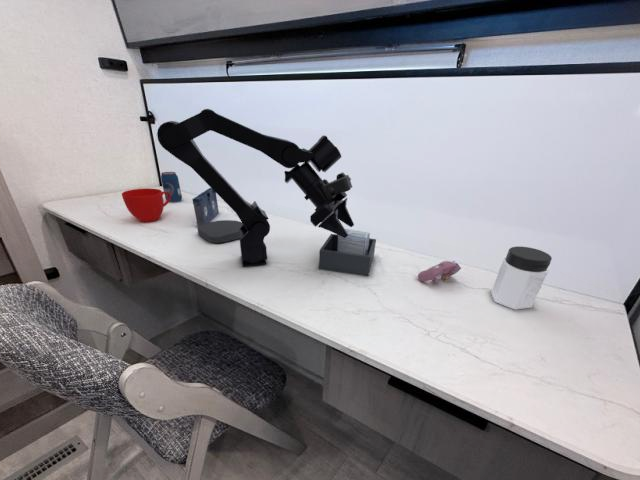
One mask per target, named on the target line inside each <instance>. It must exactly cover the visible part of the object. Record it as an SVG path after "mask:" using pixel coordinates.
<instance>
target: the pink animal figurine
mask: <svg viewBox="0 0 640 480" xmlns="http://www.w3.org/2000/svg"><path fill="white" fill-rule="evenodd" d="M461 269H462V267H461V266H460V264H459V263H458V262H456V261H455V260H453V261H449V260H444V261H441V262H439V263H438V264H435V265H433V266H430V267H429V268H428V269H426V270H422V271H420V272H419V273H418V274H417V279H418V280H419V281H420V282H429V281H431V282H432V284H435V283H437V282H439V281H440V280H441V281H445V280H448V279H449V278H450V277H452V276H454V275H455V274H457V273H458V272H460V270H461Z"/></svg>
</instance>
